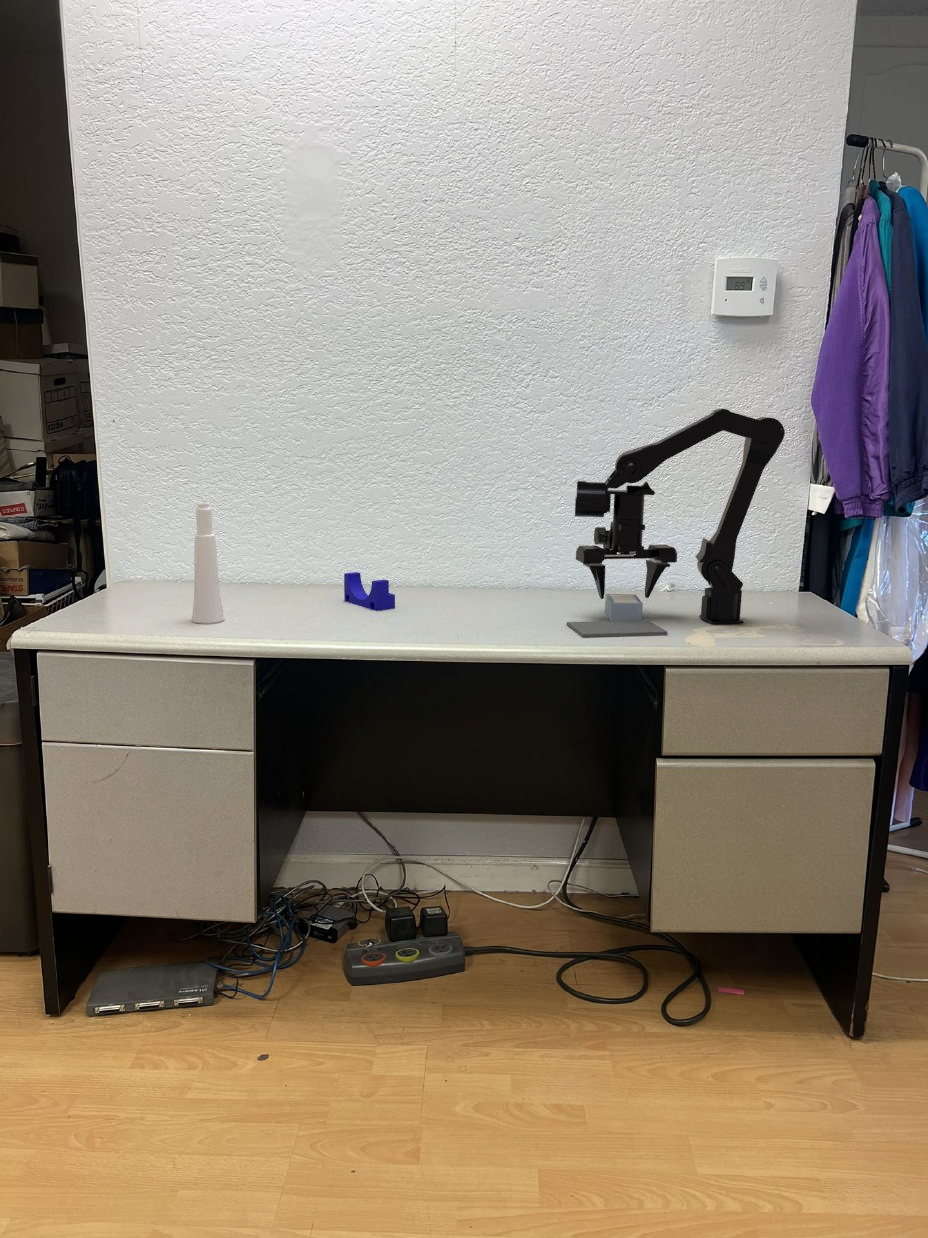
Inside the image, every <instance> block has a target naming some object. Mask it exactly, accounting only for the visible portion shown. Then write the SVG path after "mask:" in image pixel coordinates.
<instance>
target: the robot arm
mask: <svg viewBox="0 0 928 1238" xmlns="http://www.w3.org/2000/svg"><path fill="white" fill-rule="evenodd" d="M722 431H723V432H727V433H730V434H733V435H736V436H740V437H743V438H745V440H744V443H743V451H742V452H743V453H742V461H741V464H740V468H739V470H738V473H737V475H736V479H735V481H734V484H733V486H732V489H731V491H730V495H729V497H728V499H727V501H726V504H725V506H724V510H723V512H722V515H721V518H720V520H719V523H718V526H717V528H716V531H715V533H714V534H713V535H712V537H711V538H709V539H707V538H705V537H703V538H702V540H701V544H700V545H701V546H700V549H699V550H698V553H697V554H696V555H695V559H696V560H697V563H696V567H697V569H698V572H699V573H700V575H701V577H702V578H703V579H704V580H705V581H706V582H707V584H708V585H709V586H710V587H704V595H702V597H701V606H700V607H701V608H700V614H699V615H698V616H699V618H700V619H702V620H704V621H706V622H708V623H710V624H711V625H720V624H721V625H727V624H744V622H745V621H744V620H743V619H742V618H741V609H742V594H743V590H742V587H743V586H744V582H742V580H741V579H739V577H738V575H736V574H735V573H734V572H733V568H734V563H735V556H736V547H737V539H738V537H739V534H740V532H741V529H742V526H743V523H744V522H745V518H746V516H747V513H748V511H749V508H750V506H751V503H752V500H753V498H754V495H755V493H756V490H757V487H758V486H759V481H760V479H761V478H762V475H763V472H764V469H765V467H766V466H767V465H769V462H770V461H771V460H772V459H773V457H774V456H775V454H776V452H777V451H778V449H779V448H780V446H781V444H782V443H783V440H784V439H785V432H786V431H785V428H784V426H783V424H782V422H780V420H779V419H776V418H774V417H767V416H762V417H761V416H760V417H758V418H754V417H750V416H747V415H745V414H744V415H743V414H739V413H737V412H733V411H730V410H729V409H727V408H716V409H714V410H712V412H710V413H709V414H708V415H706V416H704V417H702V418H700V419H698V420H696V421H694V422H692V423H691V424H689V425H687V426H684V427H683V428H681V429H679V430H677V431H675V432H673V433H671V434H670V435H668V436H666V437H664V438H662V439H660V440H658V441H656V442H653V443H650V444H645V445H643V446H638V447H635V448H633V449H630V450H627V451H624V452H622V453H621V454H619V455H618V456H617V459H616V460H615V464H614V470H613V471H612V473H611V474H610V475H609V476H607V477H606V480H605V481H604V482H602V481H601V482H600V481H599V482H598V481H586V480H577V481H576V496H575V500H574V501H575V505H574V517H579V518H580V517H582V518H583V517H584V518H605V514H608V513H611V500H612V499H611V498H612V497H611V496H612V495H613V514H612V515H613V516H612V521H610V528H609V530H608V529H607V528H606V527H604V526H603V527H599V526H597V527H595V528H594V533H593V542H594V544H595V545H579V546H578V547H577V548H576V550H575V560H576V561H578V562H580V563H582V565H583V566H585V567H587V568H588V569H589V570H590V572H591V574H592V576H593V580H594V583H595V585H596V589H597V593H598V596H599V599H601V600H603V599H604V598H605V594H606V593H605V591H606V589H605V588H606V565H605V564H603V562H604V561H605V560H635V559H638V560H639V559H643V560H645V559H646V560H645V564H646V565H645V566H646V574H645V575H646V577H645V582H644V583H645V584H644V598H646V599H649V598H650V596H651V595H652V593H653V590H654V588H655V586H656V584H657V582H658V580H659V579H660V577H661V575H662V574H663V572H664V571H665V570H666V568H670V567H671V563H678V551H677V549H676V548H675V547H673V546H671V545H668V544H649V545H648V547H647V548H645V546H644V545H643V533H644V531H646V524H644V510H645V496H655V494H656V491H654V489H652V488H651V486H650V484H649V482H648V481H645V482H644V483H643V484H641V485H626V484H636V483H638V482H640V481H641V480H643V479H644V478H646V477H647V476H648V475H649V474H651V473H652V472H653V471H655V469H657V468H658V467H660V465H662V464H663V463H664V462H666V461H667V460H670V458H673V457H674V456H676V455H678V454H680V453H682V452H684V451H686V450H688V449H689V448H692V447H693V446H696V445H698V444H699V443H702V442H704V441H706V439H709V438H710V437H713V436H715V435H716V434H719V433H720V432H722ZM623 485H626V487H625V490H623V489H622V490H621V489H619V488H621V487H622V486H623ZM613 489H614V490H613ZM617 489H619V490H617ZM598 545H602V547H600V546H598Z"/></svg>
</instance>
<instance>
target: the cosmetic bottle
mask: <svg viewBox="0 0 928 1238" xmlns="http://www.w3.org/2000/svg"><path fill="white" fill-rule="evenodd" d="M210 504H211V503H210V501H209V502H206V501H201V502H197V503H196V506H197V507H196V509H195V518H196V519H195V521H196V534H195V535H194V547H193V548H194V552H193V553H194V556H193V558H194V560H193V561H194V562H193V563H194V564H193V565H194V567H193V568H194V569H193V570H194V571H193V572H194V574H193V575H194V581H193V582H194V583H193V585H194V586H193V588H194V589H193V590H194V591H193V603H192V604H193V606H192V614H191V622H192V623H195V624H199V625H201V624H202V625H205V624H206V625H207V624H209V625H210V624H211V625H212V624H218V623H222V622H224V621H225V620H226V617H225V614H224V607H223V602H222V597H221V595H222V594H221V588H220V587H221V586H220V578H219V565H218V564H219V563H218V555H217V554H218V553H217V544H216V534H214V533H213V515H212V510H213V509H212V507H210Z"/></svg>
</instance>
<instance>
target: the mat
mask: <svg viewBox="0 0 928 1238" xmlns="http://www.w3.org/2000/svg"><path fill="white" fill-rule="evenodd" d="M566 626H567V627H568V628H570V629H571V630H572V631H574V632H575V633H576V634H577V635H579V636H580V637H581V638H605V637H606V638H610V637H612V638H613V637H614V636H615V637H644V636H645V637H647V636H649V637H650V636H668V633H669V632H668V630H665V629H664V628H663V627H660V626H659V625H657V624H655V623H654V622H652V621H650V620H649V619H642V620H624V621H609V620H597V621H596V620H595V621H593V620H591V621H587V620H586V621H566ZM615 637H614V638H615Z"/></svg>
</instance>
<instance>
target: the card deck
mask: <svg viewBox="0 0 928 1238" xmlns="http://www.w3.org/2000/svg"><path fill="white" fill-rule="evenodd" d="M604 598H605V599H604V600H605V601H604V614H605V616H606V617H607V619H608V621H609V620H610V621H624V620H643V608H644V607H643V606H644V605H643V602H642V601H641V599H640V598H639V596H637V594H635V593H634V594H632V593H631V594H629V593H623V594H622V593H621V594H620V593H604Z"/></svg>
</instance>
